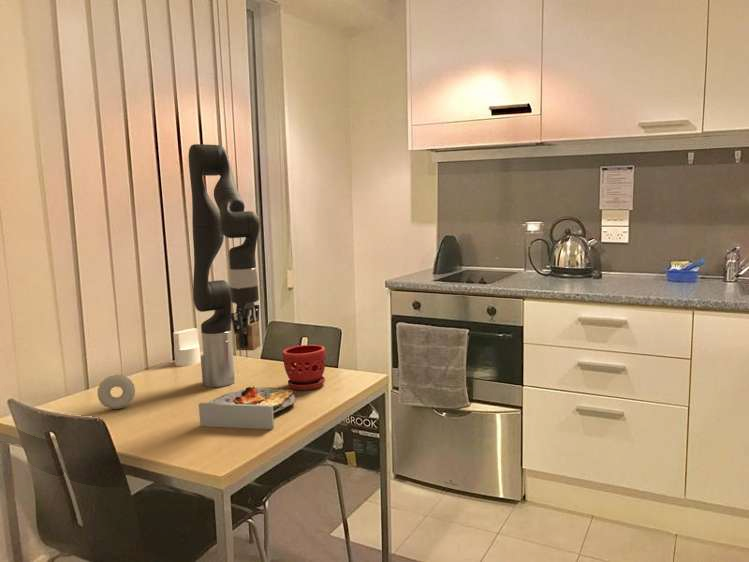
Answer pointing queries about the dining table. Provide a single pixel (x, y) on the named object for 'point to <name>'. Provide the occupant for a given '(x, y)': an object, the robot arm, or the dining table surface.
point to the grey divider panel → (236, 415)
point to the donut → (116, 401)
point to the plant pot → (305, 366)
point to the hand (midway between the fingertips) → (248, 344)
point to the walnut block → (250, 337)
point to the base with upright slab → (186, 347)
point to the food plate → (259, 397)
